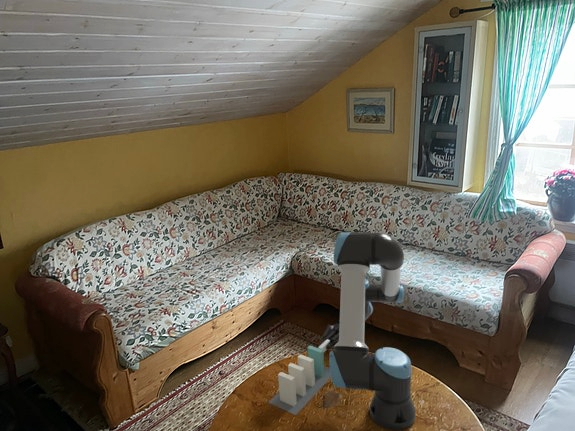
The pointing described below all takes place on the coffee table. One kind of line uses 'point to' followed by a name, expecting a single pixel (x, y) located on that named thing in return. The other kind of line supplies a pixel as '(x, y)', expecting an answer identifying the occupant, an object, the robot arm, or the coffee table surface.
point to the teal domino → (317, 360)
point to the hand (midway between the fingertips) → (320, 350)
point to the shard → (331, 398)
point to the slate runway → (304, 399)
